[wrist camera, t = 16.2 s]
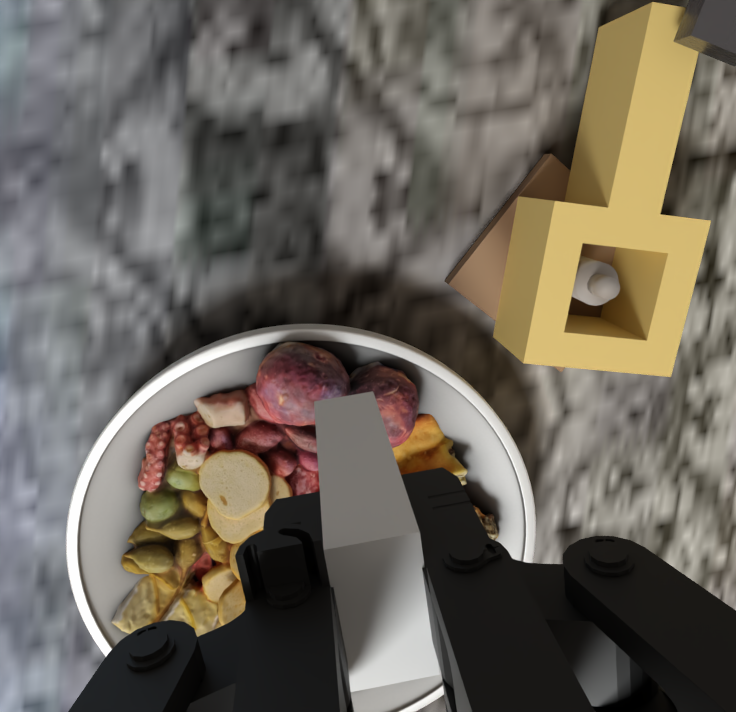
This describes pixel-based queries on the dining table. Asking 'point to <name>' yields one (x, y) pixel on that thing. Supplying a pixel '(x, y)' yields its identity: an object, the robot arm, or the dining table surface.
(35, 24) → the dining table surface
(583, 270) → the pintle stand
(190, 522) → the bowl
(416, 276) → the dining table surface
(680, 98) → the link
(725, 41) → the keeper
